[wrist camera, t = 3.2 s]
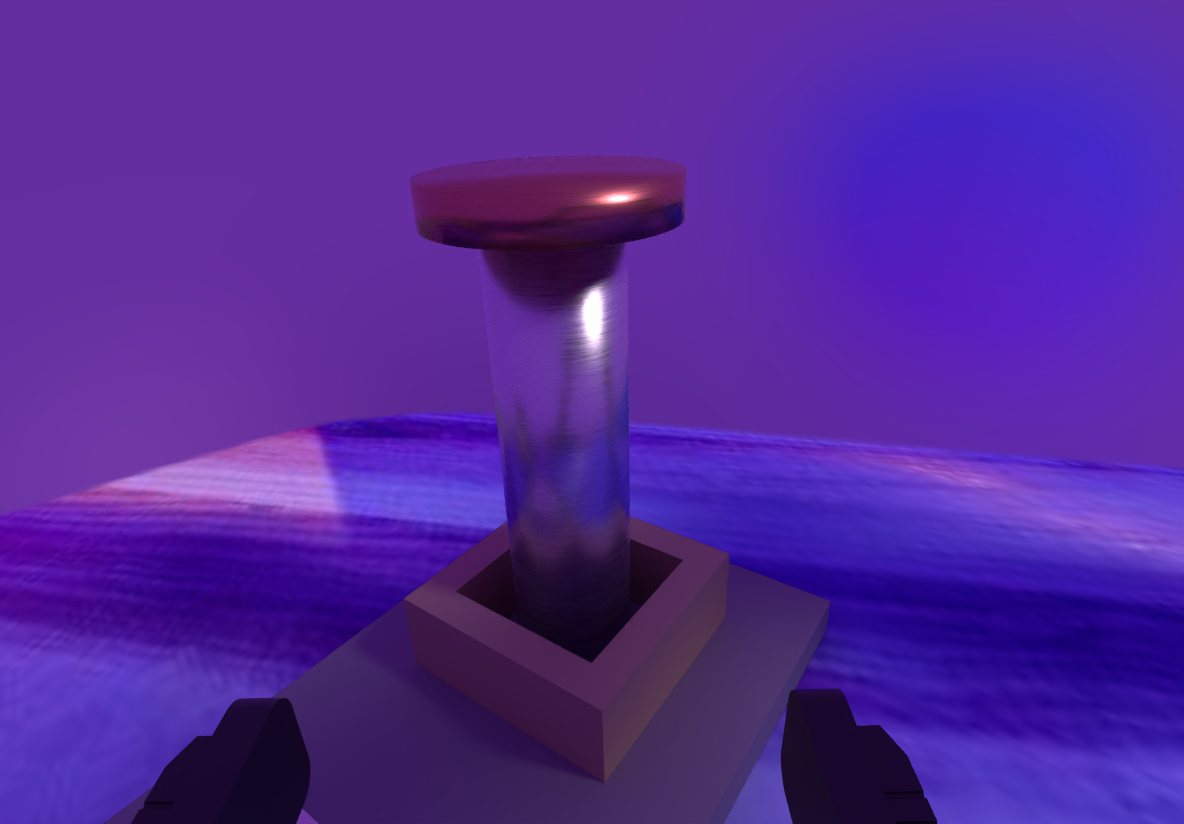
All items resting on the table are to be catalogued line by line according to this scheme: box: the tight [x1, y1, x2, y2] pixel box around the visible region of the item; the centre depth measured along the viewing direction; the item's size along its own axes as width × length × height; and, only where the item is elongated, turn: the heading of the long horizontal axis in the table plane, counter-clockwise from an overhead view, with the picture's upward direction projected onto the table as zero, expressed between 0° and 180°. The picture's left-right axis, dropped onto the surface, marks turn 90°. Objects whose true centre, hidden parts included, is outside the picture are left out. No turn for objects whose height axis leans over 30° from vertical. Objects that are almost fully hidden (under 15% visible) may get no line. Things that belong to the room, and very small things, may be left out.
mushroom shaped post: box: [410, 156, 686, 663], centre depth 21 cm, size 7×7×16 cm
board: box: [104, 516, 831, 824], centre depth 19 cm, size 28×14×4 cm, turn 145°
